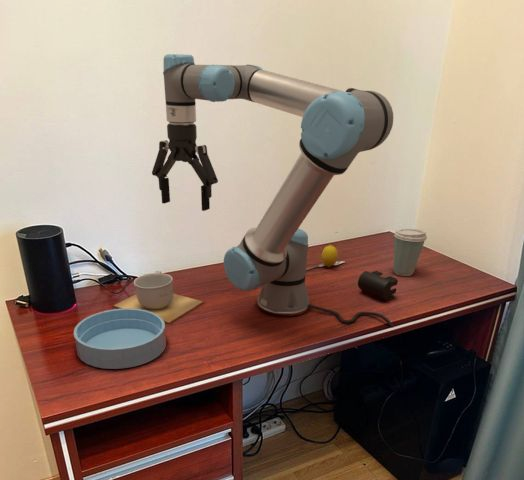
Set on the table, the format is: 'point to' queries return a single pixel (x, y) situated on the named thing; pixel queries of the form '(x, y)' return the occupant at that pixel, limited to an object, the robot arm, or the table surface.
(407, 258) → the disposable coffee cup
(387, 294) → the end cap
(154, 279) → the teacup
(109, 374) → the table surface
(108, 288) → the table surface
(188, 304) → the placemat
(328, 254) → the lemon
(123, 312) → the bowl
